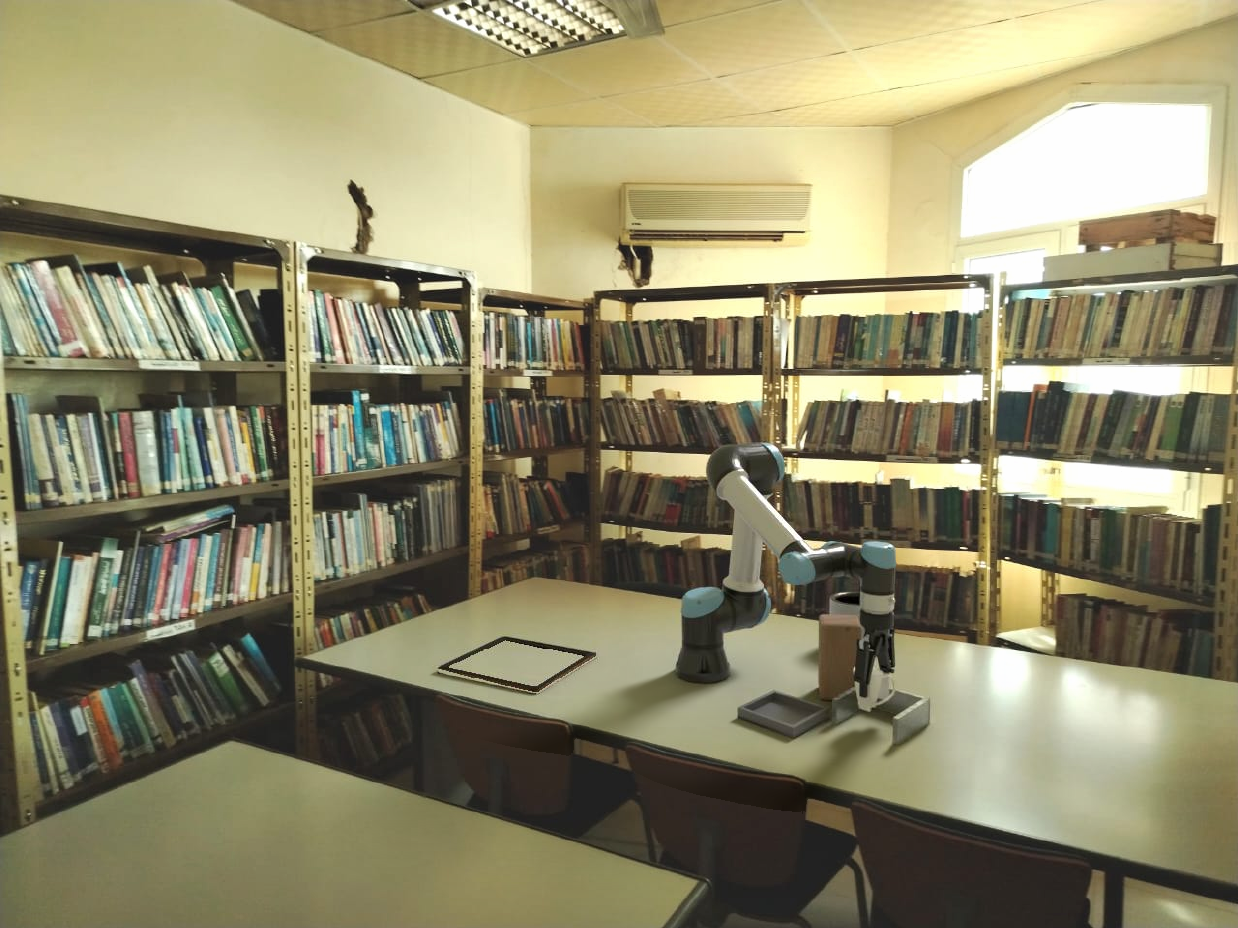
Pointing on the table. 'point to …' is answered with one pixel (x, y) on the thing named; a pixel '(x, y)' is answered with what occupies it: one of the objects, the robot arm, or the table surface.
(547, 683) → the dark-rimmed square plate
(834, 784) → the table surface
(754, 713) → the tray
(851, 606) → the planter
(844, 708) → the bay
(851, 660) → the wooden block
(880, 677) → the cup
